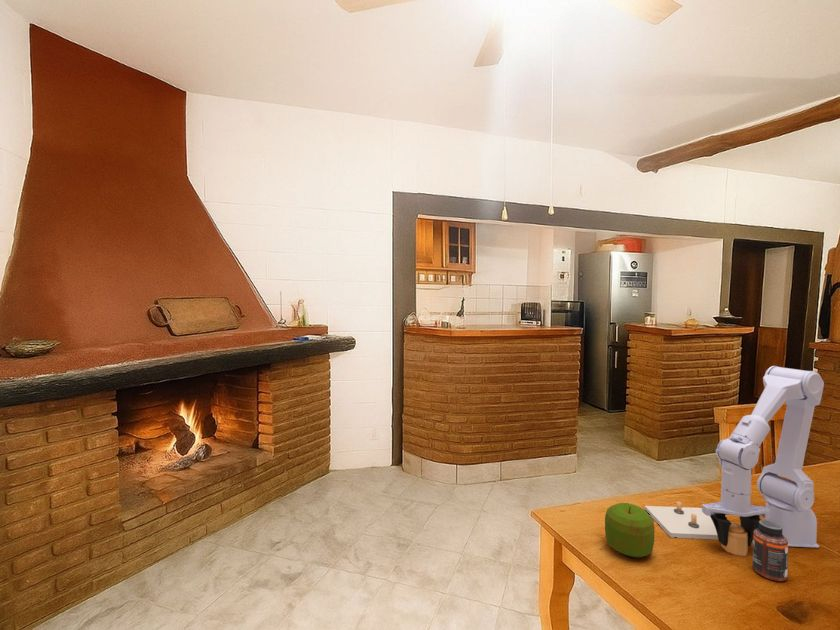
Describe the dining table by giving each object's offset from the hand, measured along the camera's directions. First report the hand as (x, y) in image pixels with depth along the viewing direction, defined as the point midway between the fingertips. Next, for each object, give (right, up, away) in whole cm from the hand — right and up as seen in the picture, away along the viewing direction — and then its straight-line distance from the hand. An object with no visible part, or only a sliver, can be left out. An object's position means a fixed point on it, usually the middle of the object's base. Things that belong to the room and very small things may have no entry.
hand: (734, 543), depth 99 cm
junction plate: (-4, -1, +11) cm, 12 cm away
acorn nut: (0, -1, 0) cm, 1 cm away
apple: (-26, -2, 0) cm, 26 cm away
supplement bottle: (+1, -2, -9) cm, 9 cm away
